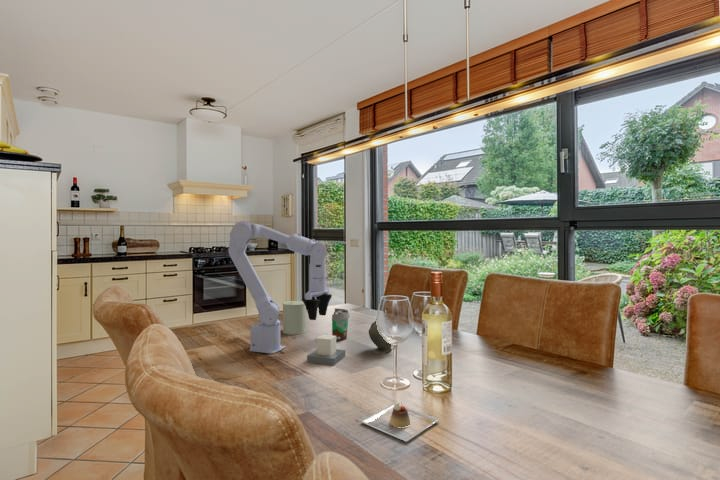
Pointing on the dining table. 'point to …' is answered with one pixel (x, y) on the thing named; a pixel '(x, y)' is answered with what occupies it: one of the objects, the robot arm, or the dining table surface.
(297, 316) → the can
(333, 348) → the block
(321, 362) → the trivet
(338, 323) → the food container
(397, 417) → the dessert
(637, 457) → the dining table surface
